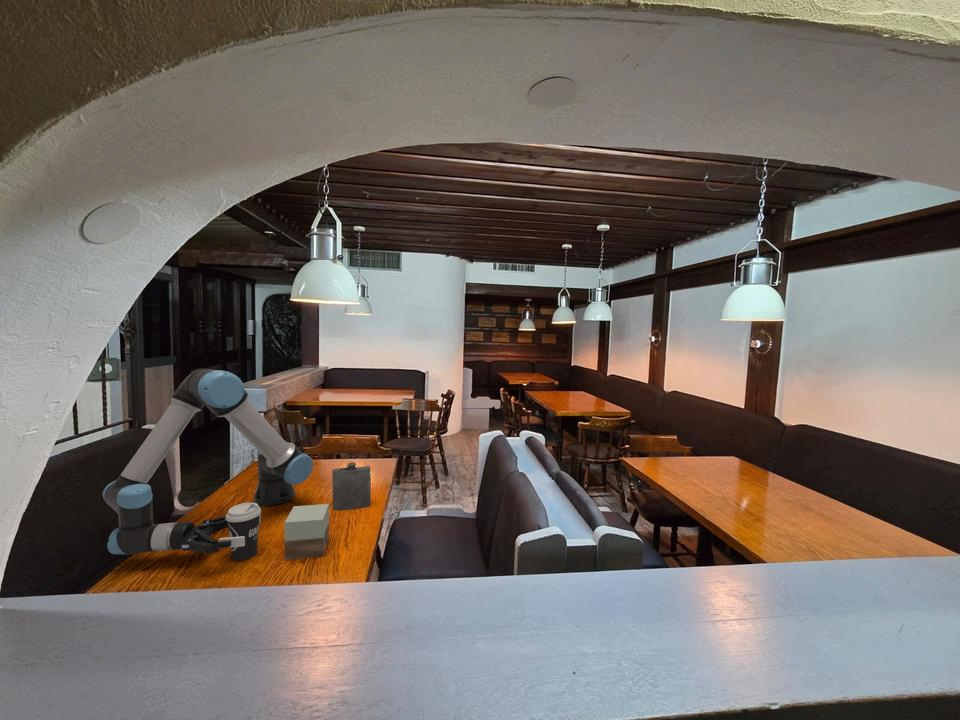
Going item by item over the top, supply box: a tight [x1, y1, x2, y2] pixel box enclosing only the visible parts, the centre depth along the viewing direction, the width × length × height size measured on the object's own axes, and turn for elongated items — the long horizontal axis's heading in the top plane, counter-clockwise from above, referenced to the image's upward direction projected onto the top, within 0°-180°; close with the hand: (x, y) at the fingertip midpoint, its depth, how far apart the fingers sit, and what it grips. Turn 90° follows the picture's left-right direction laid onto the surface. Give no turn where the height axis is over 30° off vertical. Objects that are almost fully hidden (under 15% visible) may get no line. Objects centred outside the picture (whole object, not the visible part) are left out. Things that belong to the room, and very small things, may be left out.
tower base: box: [284, 522, 330, 561], centre depth 125 cm, size 11×11×6 cm
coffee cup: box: [225, 502, 262, 562], centre depth 121 cm, size 10×10×15 cm
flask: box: [331, 462, 372, 511], centre depth 154 cm, size 4×14×18 cm, turn 106°
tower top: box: [284, 503, 330, 542], centre depth 125 cm, size 11×11×6 cm
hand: (252, 529), depth 121 cm, fingers open, 13 cm apart
